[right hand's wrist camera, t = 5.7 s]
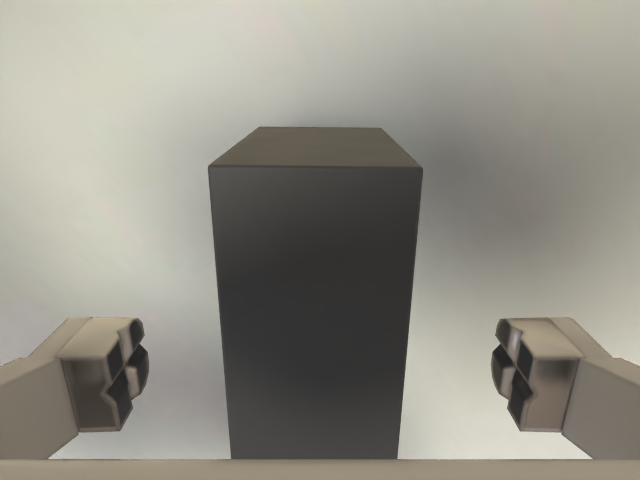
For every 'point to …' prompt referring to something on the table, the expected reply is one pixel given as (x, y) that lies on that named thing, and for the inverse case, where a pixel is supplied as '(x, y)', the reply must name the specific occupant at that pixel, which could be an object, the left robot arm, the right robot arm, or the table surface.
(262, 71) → the table surface
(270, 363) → the block
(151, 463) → the right robot arm
